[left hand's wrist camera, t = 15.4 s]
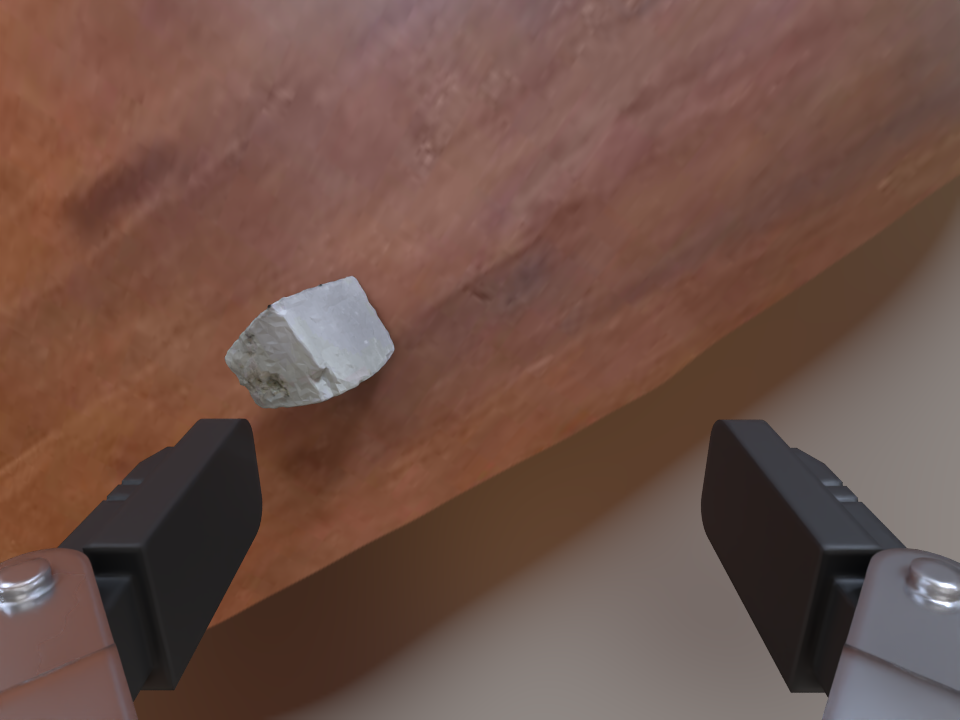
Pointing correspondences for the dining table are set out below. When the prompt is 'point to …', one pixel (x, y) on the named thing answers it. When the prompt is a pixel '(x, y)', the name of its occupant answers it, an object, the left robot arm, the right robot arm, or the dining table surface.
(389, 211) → the dining table surface
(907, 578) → the left robot arm
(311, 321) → the mineral specimen
